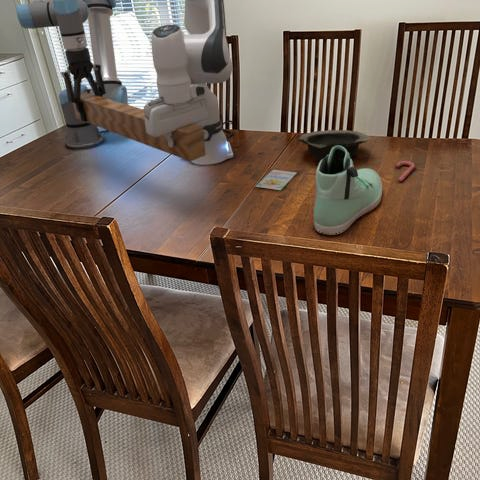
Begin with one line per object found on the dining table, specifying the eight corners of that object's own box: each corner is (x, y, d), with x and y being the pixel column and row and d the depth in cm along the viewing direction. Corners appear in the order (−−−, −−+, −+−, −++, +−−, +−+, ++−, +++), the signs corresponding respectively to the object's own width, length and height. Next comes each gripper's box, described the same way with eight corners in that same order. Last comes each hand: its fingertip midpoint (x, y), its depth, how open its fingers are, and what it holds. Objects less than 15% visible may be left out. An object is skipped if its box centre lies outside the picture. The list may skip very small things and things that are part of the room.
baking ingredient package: (255, 185, 155) (273, 168, 166) (255, 187, 155) (273, 170, 166) (280, 189, 151) (297, 171, 163) (280, 190, 151) (297, 173, 163)
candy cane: (383, 179, 154) (383, 175, 153) (399, 163, 164) (400, 158, 163) (401, 183, 151) (402, 178, 150) (417, 166, 161) (417, 161, 160)
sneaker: (389, 187, 148) (396, 123, 138) (356, 242, 123) (361, 168, 112) (346, 181, 154) (350, 119, 144) (306, 232, 129) (307, 161, 118)
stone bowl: (326, 174, 159) (325, 147, 154) (286, 157, 179) (284, 133, 175) (384, 156, 168) (385, 130, 163) (340, 142, 188) (339, 118, 184)
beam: (76, 118, 171) (70, 95, 167) (90, 114, 174) (85, 92, 170) (190, 161, 130) (186, 132, 126) (205, 155, 133) (202, 127, 129)
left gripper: (54, 55, 148) (73, 127, 161) (107, 44, 159) (121, 113, 171) (44, 53, 153) (63, 123, 165) (95, 42, 164) (110, 109, 176)
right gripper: (149, 104, 119) (159, 157, 126) (211, 85, 130) (216, 134, 138) (135, 101, 123) (145, 151, 130) (196, 82, 134) (202, 130, 142)
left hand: (92, 118), depth 168 cm, fingers closed on beam, 6 cm apart
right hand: (182, 142), depth 134 cm, fingers closed on beam, 5 cm apart
